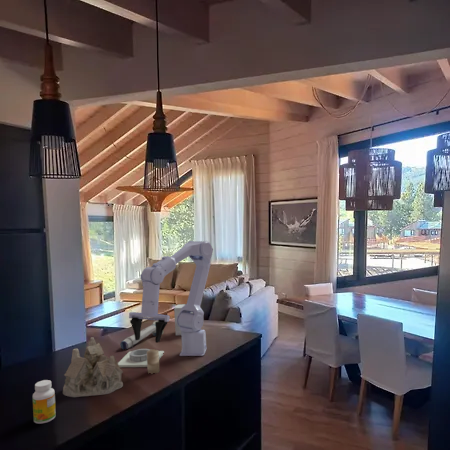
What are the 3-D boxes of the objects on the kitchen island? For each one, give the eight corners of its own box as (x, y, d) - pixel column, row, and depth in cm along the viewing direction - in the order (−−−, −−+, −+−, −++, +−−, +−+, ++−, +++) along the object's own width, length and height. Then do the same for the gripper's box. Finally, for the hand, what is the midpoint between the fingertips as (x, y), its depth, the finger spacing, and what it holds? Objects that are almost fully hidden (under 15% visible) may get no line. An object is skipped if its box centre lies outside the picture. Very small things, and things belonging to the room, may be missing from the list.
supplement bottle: (29, 422, 99) (27, 386, 99) (45, 412, 104) (43, 377, 104) (44, 425, 98) (42, 388, 97) (60, 415, 103) (58, 379, 102)
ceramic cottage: (56, 389, 119) (57, 342, 118) (104, 374, 130) (105, 331, 130) (79, 408, 108) (79, 356, 107) (129, 390, 120) (130, 343, 119)
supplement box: (193, 330, 177) (192, 303, 177) (191, 335, 169) (189, 307, 169) (178, 330, 178) (177, 304, 177) (175, 335, 170) (173, 307, 170)
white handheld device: (118, 340, 155) (156, 317, 177) (120, 355, 156) (157, 330, 178) (127, 341, 153) (165, 318, 174) (130, 357, 153) (166, 331, 175)
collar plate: (163, 352, 148) (163, 345, 148) (154, 366, 134) (153, 359, 134) (129, 353, 149) (129, 346, 149) (116, 367, 135) (115, 359, 135)
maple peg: (160, 369, 132) (159, 349, 132) (157, 373, 128) (156, 353, 128) (149, 369, 132) (148, 349, 132) (146, 373, 128) (145, 353, 128)
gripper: (126, 300, 130) (122, 340, 129) (165, 304, 127) (162, 345, 125) (135, 299, 137) (132, 337, 136) (172, 302, 133) (170, 341, 132)
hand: (147, 340), depth 131 cm, fingers open, 7 cm apart
